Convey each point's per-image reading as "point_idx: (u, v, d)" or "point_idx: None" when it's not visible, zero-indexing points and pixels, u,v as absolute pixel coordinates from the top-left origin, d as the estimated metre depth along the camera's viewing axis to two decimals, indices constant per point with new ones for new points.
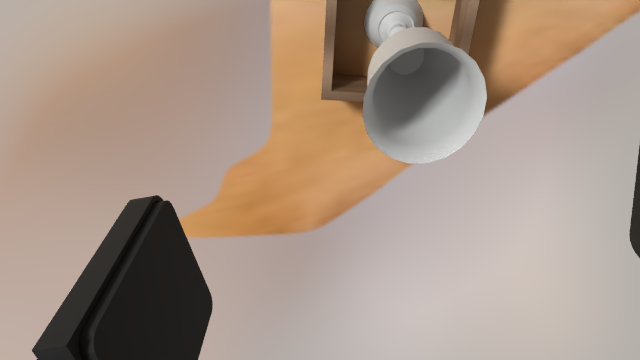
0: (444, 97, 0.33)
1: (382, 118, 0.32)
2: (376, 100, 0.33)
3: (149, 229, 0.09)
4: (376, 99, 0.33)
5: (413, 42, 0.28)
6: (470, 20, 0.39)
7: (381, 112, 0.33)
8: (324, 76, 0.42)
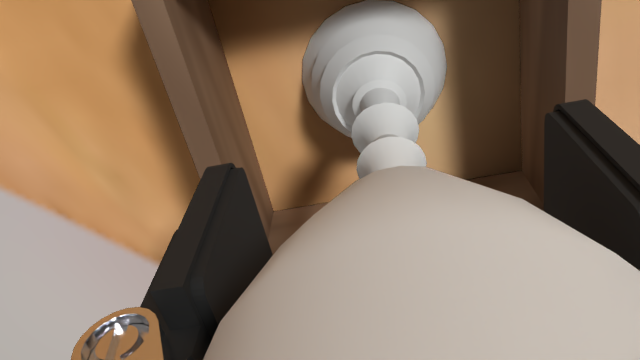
0: None
1: None
2: None
3: (231, 191, 0.10)
4: None
5: None
6: None
7: None
8: None
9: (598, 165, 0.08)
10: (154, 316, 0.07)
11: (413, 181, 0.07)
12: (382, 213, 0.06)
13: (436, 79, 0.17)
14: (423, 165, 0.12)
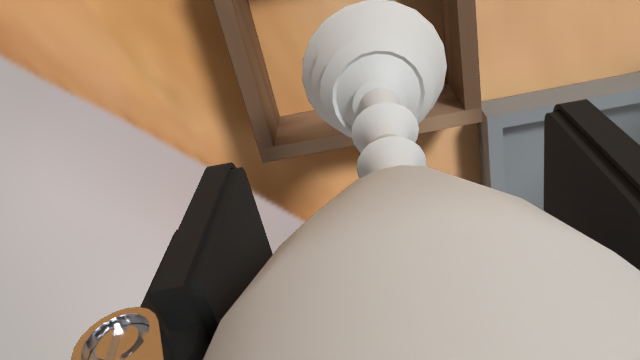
0: None
1: None
2: None
3: (232, 191, 0.10)
4: None
5: None
6: None
7: None
8: None
9: (598, 165, 0.08)
10: (154, 316, 0.07)
11: (413, 180, 0.07)
12: (382, 212, 0.06)
13: (436, 79, 0.17)
14: (423, 165, 0.12)
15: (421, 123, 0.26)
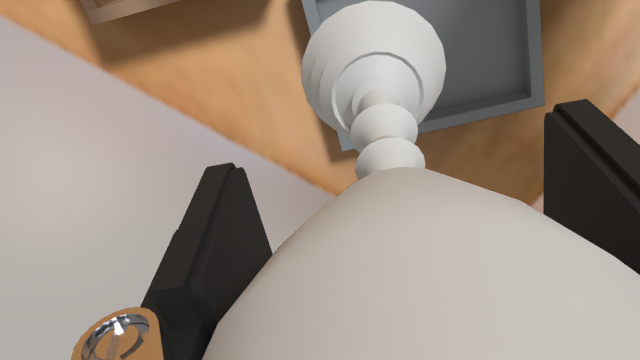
0: None
1: None
2: None
3: (232, 191, 0.10)
4: None
5: None
6: None
7: None
8: None
9: (598, 165, 0.08)
10: (154, 316, 0.07)
11: (411, 183, 0.07)
12: (380, 215, 0.06)
13: (435, 80, 0.17)
14: (422, 166, 0.12)
15: None
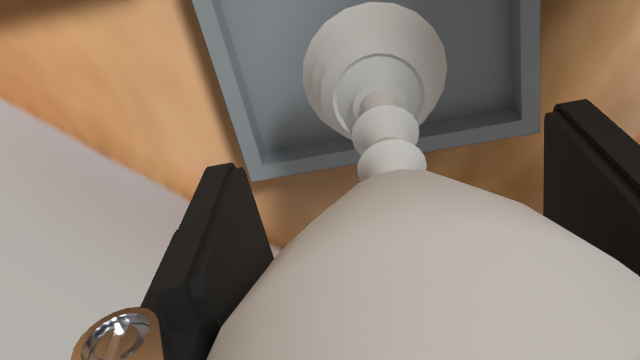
0: None
1: None
2: None
3: (232, 191, 0.10)
4: None
5: None
6: None
7: None
8: None
9: (598, 165, 0.08)
10: (154, 316, 0.07)
11: (414, 186, 0.07)
12: (383, 218, 0.06)
13: (436, 81, 0.17)
14: (423, 168, 0.12)
15: None
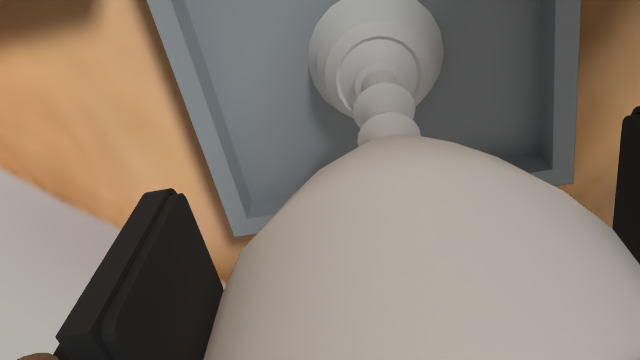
0: None
1: None
2: None
3: (165, 221, 0.09)
4: None
5: None
6: None
7: None
8: None
9: None
10: None
11: (403, 140, 0.08)
12: (376, 161, 0.07)
13: (433, 63, 0.18)
14: None
15: None
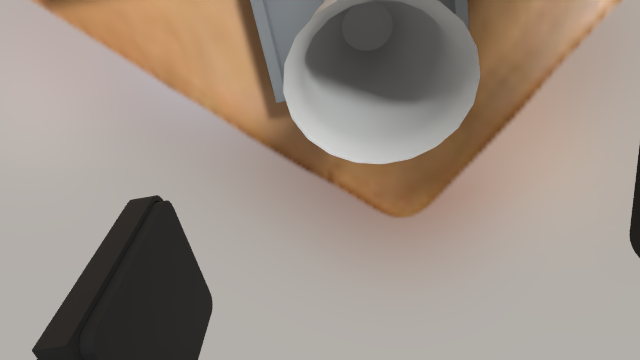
0: (349, 98, 0.25)
1: None
2: None
3: (149, 229, 0.09)
4: None
5: None
6: None
7: None
8: None
9: None
10: None
11: None
12: None
13: None
14: None
15: None
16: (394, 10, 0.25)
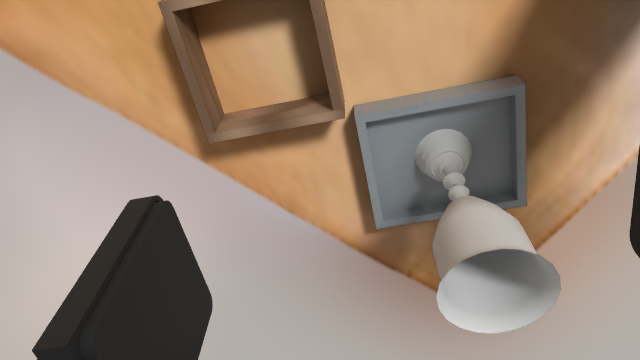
0: (459, 269, 0.36)
1: None
2: (447, 221, 0.34)
3: (149, 229, 0.09)
4: (447, 221, 0.34)
5: None
6: (291, 123, 0.41)
7: (444, 234, 0.33)
8: None
9: None
10: None
11: (473, 200, 0.35)
12: (469, 206, 0.34)
13: (468, 158, 0.45)
14: (468, 193, 0.40)
15: (306, 119, 0.41)
16: None
